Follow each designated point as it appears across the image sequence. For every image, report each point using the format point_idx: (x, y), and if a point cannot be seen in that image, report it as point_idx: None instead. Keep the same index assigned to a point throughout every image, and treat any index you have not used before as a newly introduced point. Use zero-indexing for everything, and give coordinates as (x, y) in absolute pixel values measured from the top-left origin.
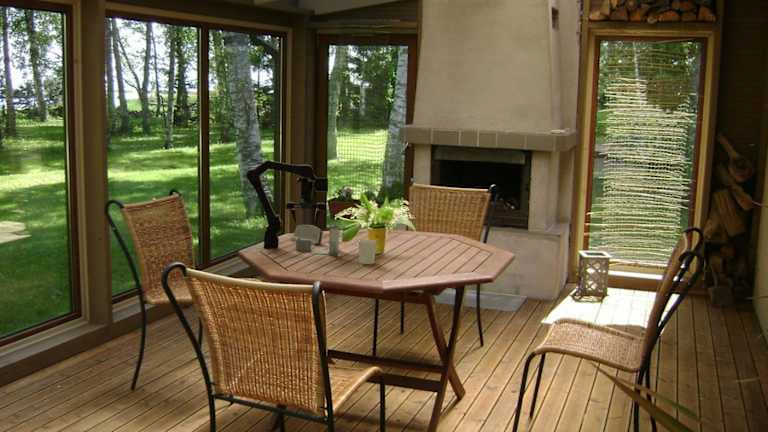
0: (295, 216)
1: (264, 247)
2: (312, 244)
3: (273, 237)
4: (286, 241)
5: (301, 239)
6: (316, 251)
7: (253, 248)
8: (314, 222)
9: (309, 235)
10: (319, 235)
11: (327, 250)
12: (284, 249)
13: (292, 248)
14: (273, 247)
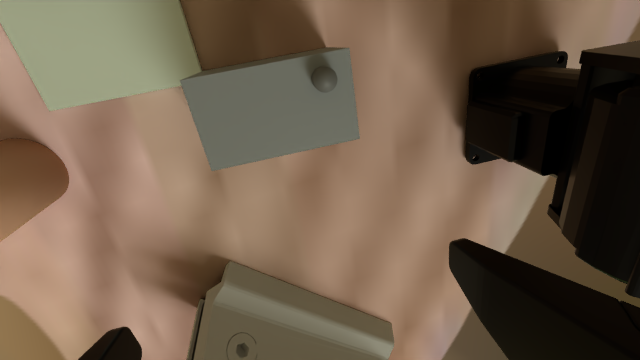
0: (585, 326)
1: (561, 51)
2: (245, 272)
3: (571, 84)
4: (410, 304)
5: (299, 101)
6: (126, 10)
7: (624, 33)
8: (108, 348)
9: (282, 354)
10: (196, 354)
11: (43, 94)
12: (416, 64)
13: (361, 122)
14: (501, 65)
